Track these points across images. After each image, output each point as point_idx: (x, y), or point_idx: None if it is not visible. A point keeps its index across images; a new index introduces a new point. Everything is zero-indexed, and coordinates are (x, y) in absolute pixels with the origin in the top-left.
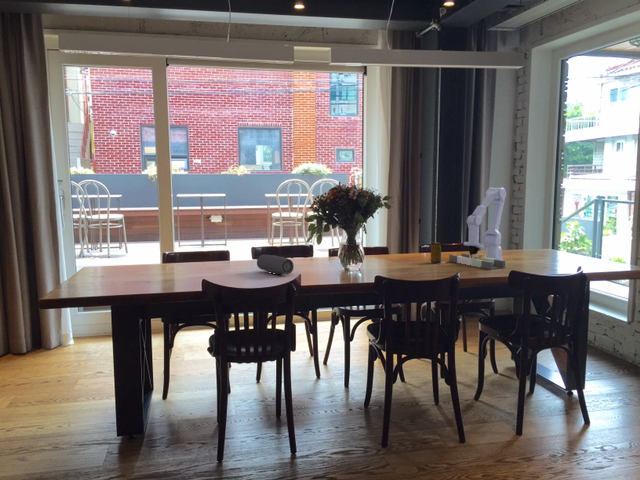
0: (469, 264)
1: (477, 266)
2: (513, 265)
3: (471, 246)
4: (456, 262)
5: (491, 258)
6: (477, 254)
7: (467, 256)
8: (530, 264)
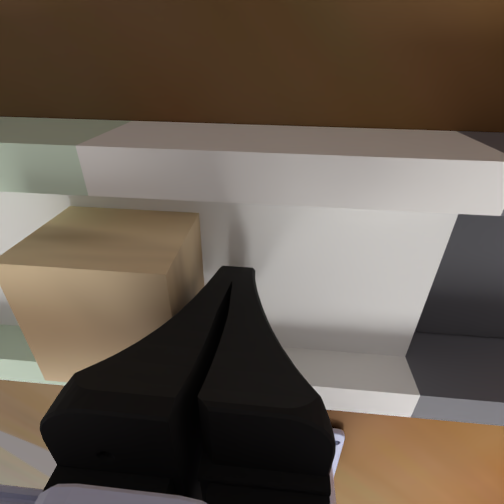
0: (166, 124)
1: (4, 117)
2: (28, 414)
3: (223, 499)
4: (473, 132)
5: (32, 375)
6: (109, 335)
7: (449, 374)
8: (40, 480)
